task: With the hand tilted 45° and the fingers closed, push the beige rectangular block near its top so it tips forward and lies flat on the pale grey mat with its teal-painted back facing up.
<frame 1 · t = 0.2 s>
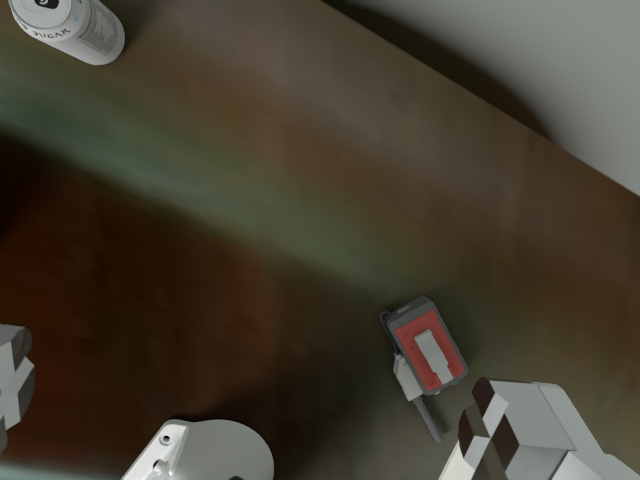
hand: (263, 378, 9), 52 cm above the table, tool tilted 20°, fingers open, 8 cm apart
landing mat: (492, 475, 71), on the table
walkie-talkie: (426, 363, 67), on the table
energy drink can: (98, 37, 56), on the table
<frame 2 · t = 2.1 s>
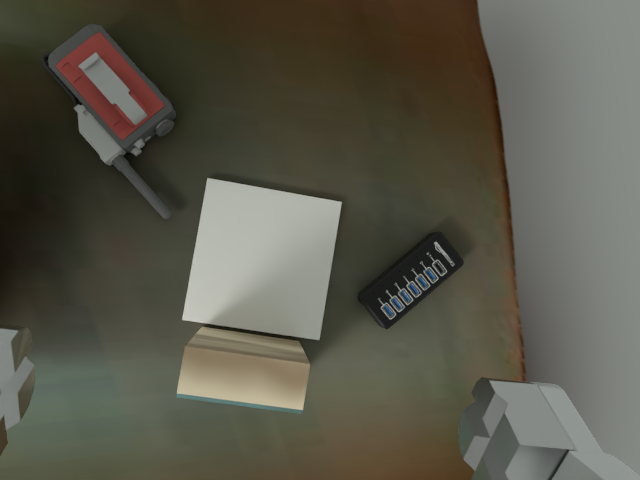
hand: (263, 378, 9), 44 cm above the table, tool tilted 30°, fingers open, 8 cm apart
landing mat: (263, 259, 53), on the table
beige rectangular block: (247, 353, 53), on the table
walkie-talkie: (131, 124, 53), on the table
multiport hub: (406, 279, 56), on the table
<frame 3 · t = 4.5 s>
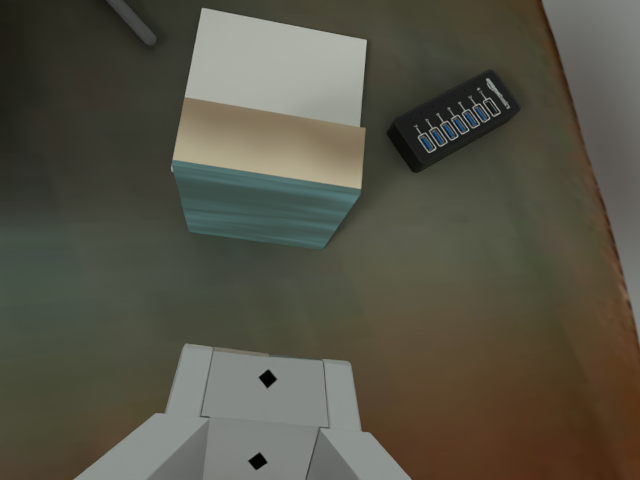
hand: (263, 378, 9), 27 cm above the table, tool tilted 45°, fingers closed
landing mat: (275, 103, 42), on the table
beige rectangular block: (260, 215, 39), on the table
multiport hub: (447, 128, 45), on the table
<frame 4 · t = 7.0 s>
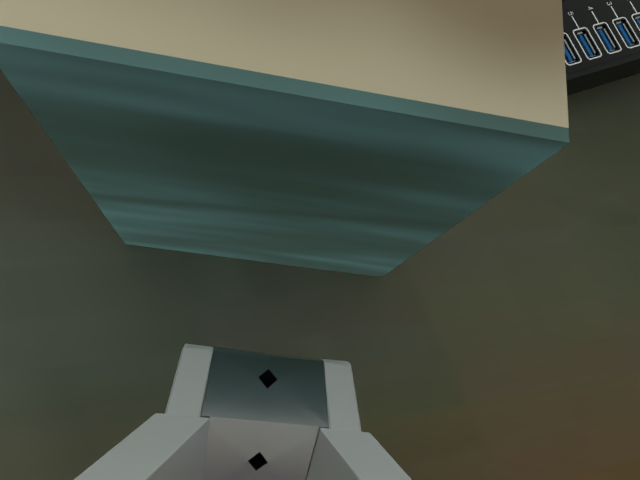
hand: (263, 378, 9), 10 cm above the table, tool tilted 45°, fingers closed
beige rectangular block: (264, 213, 21), on the table
multiport hub: (573, 53, 26), on the table
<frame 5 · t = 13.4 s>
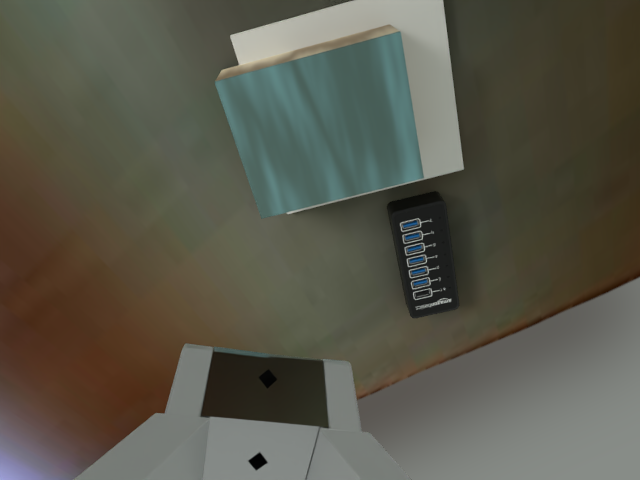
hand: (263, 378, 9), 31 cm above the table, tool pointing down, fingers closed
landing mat: (354, 105, 38), on the table
beige rectangular block: (242, 145, 37), point 3 cm above the table, tilted 90°, touching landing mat
multiport hub: (420, 249, 45), on the table
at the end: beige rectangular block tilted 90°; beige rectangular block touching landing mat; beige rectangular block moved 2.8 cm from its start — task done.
